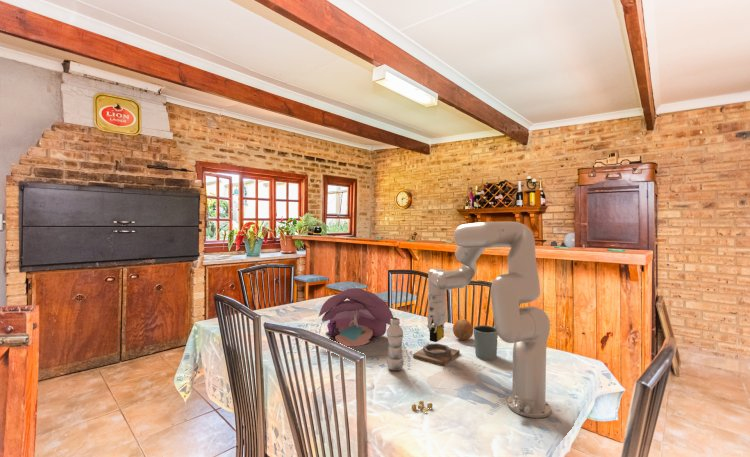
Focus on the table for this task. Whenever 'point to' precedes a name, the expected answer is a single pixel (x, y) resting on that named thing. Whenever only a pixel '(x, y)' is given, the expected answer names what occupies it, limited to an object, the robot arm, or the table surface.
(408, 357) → the table surface
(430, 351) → the holder
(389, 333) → the plastic bottle
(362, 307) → the purple shell playhouse
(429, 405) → the dice set
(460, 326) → the onion
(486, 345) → the grey cup
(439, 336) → the lemon
